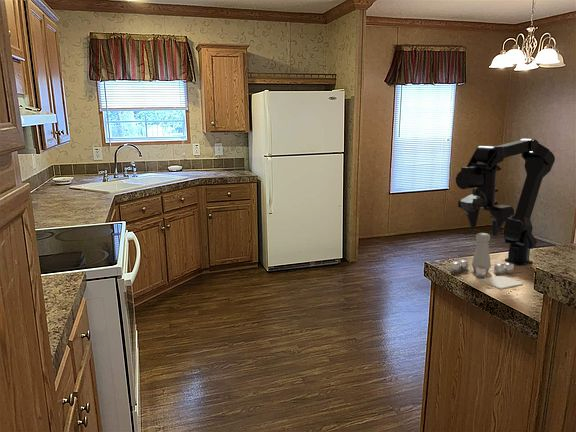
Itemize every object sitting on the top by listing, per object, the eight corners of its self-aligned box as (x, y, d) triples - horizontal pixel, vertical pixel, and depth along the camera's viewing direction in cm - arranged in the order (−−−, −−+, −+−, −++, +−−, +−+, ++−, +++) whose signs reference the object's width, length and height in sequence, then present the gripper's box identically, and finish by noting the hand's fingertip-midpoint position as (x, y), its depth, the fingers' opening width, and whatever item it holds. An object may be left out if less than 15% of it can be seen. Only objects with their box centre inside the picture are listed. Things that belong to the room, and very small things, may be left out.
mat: (502, 276, 146) (502, 275, 146) (522, 284, 139) (523, 283, 139) (480, 280, 143) (480, 279, 143) (500, 289, 135) (500, 288, 135)
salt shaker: (485, 268, 154) (488, 231, 151) (493, 274, 148) (496, 235, 145) (468, 268, 154) (470, 231, 151) (475, 274, 148) (478, 236, 145)
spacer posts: (488, 263, 159) (489, 254, 158) (515, 273, 149) (516, 264, 148) (447, 270, 153) (448, 261, 152) (472, 281, 142) (473, 272, 142)
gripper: (445, 184, 151) (444, 229, 155) (488, 192, 134) (485, 243, 138) (472, 180, 155) (470, 225, 159) (517, 188, 138) (513, 237, 142)
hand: (483, 232), depth 149 cm, fingers open, 9 cm apart
